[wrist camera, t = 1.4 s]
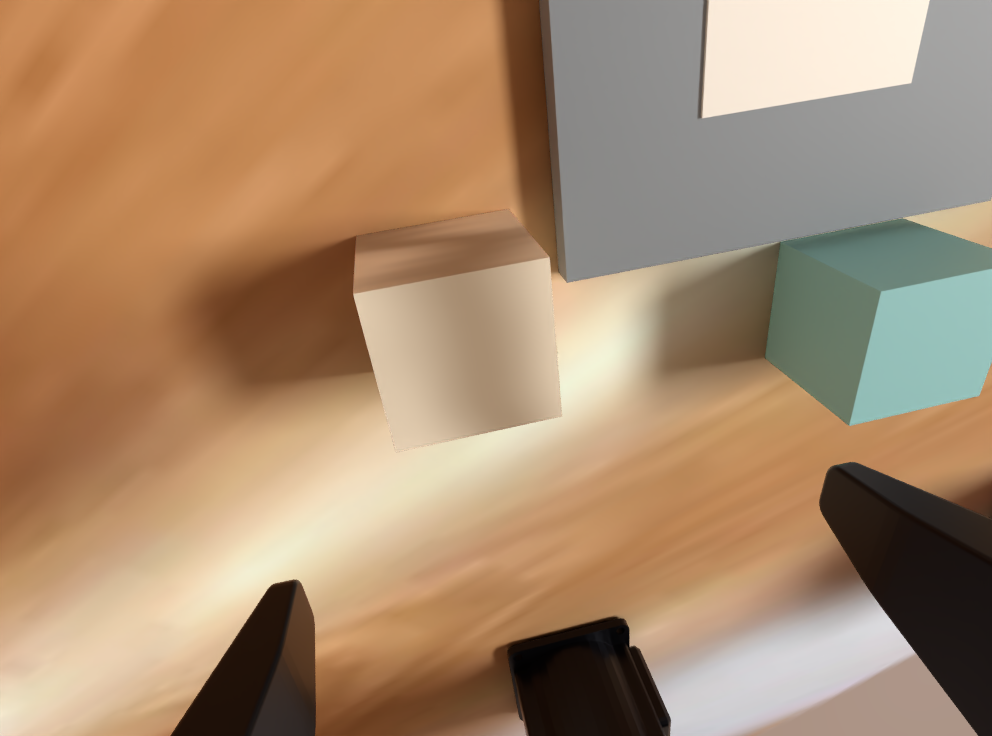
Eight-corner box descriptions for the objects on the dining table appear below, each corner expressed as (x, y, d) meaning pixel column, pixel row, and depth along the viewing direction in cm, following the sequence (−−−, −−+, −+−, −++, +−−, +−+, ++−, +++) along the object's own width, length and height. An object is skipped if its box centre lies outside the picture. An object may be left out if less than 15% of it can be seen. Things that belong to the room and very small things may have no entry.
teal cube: (763, 357, 24) (849, 425, 20) (779, 241, 22) (881, 291, 17) (873, 333, 25) (979, 395, 20) (900, 217, 22) (1028, 261, 18)
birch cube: (389, 368, 21) (395, 452, 17) (356, 235, 18) (352, 294, 14) (523, 341, 22) (562, 416, 17) (508, 208, 19) (549, 257, 15)
